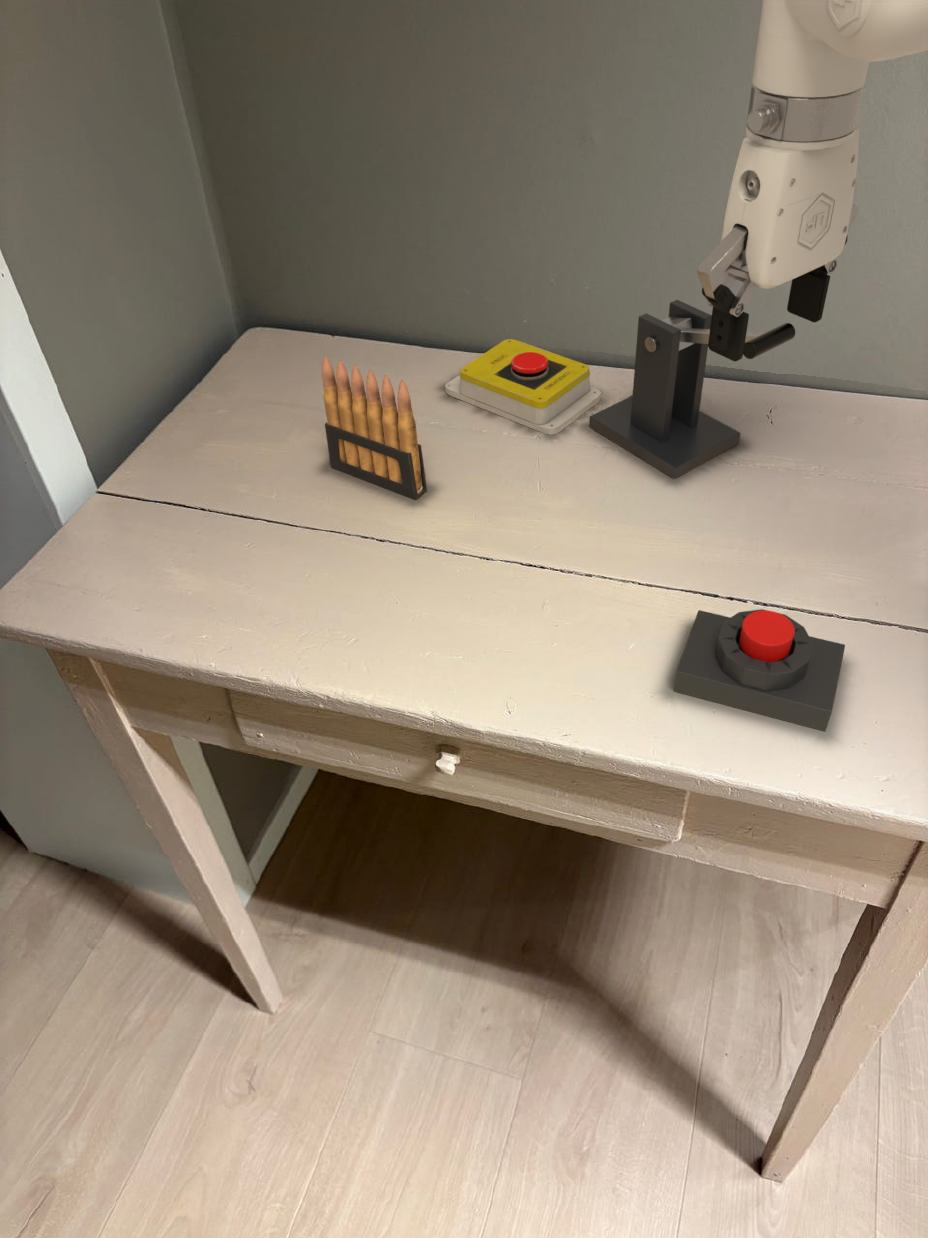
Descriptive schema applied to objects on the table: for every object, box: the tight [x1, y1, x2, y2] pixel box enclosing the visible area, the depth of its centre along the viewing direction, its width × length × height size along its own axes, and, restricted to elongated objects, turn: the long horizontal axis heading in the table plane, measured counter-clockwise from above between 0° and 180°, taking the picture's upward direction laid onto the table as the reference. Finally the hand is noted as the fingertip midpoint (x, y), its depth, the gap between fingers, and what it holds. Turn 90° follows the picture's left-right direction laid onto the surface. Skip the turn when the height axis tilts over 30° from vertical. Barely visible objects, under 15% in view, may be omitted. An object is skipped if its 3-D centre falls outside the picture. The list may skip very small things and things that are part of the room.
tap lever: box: [661, 316, 796, 360], centre depth 84 cm, size 13×5×2 cm, turn 37°
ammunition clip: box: [321, 355, 428, 501], centre depth 89 cm, size 11×2×12 cm, turn 55°
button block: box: [673, 608, 846, 732], centre depth 71 cm, size 11×7×4 cm, turn 67°
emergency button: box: [444, 338, 602, 436], centre depth 102 cm, size 9×4×15 cm
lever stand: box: [588, 299, 741, 480], centre depth 92 cm, size 12×9×13 cm
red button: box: [739, 609, 795, 662], centre depth 69 cm, size 4×4×2 cm
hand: (765, 334), depth 80 cm, fingers open, 9 cm apart
